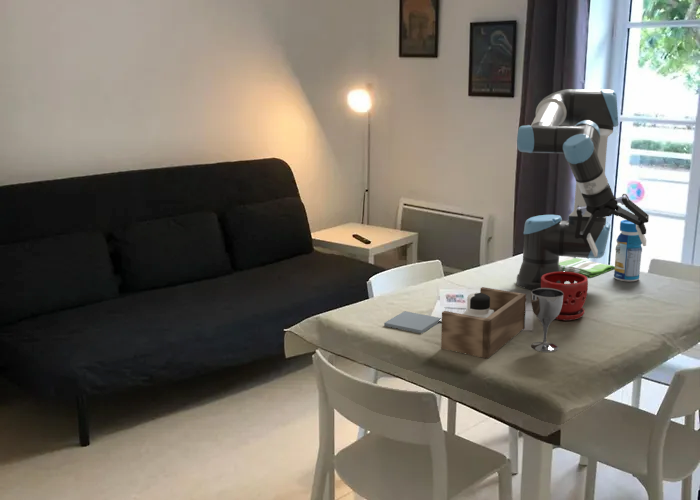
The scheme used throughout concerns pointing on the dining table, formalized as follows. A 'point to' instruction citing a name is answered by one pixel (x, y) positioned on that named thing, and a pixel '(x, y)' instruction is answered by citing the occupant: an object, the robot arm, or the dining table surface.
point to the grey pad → (412, 322)
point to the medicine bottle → (478, 305)
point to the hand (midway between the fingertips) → (620, 248)
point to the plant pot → (568, 292)
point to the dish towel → (582, 266)
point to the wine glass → (546, 313)
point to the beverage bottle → (628, 253)
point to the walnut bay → (485, 325)
